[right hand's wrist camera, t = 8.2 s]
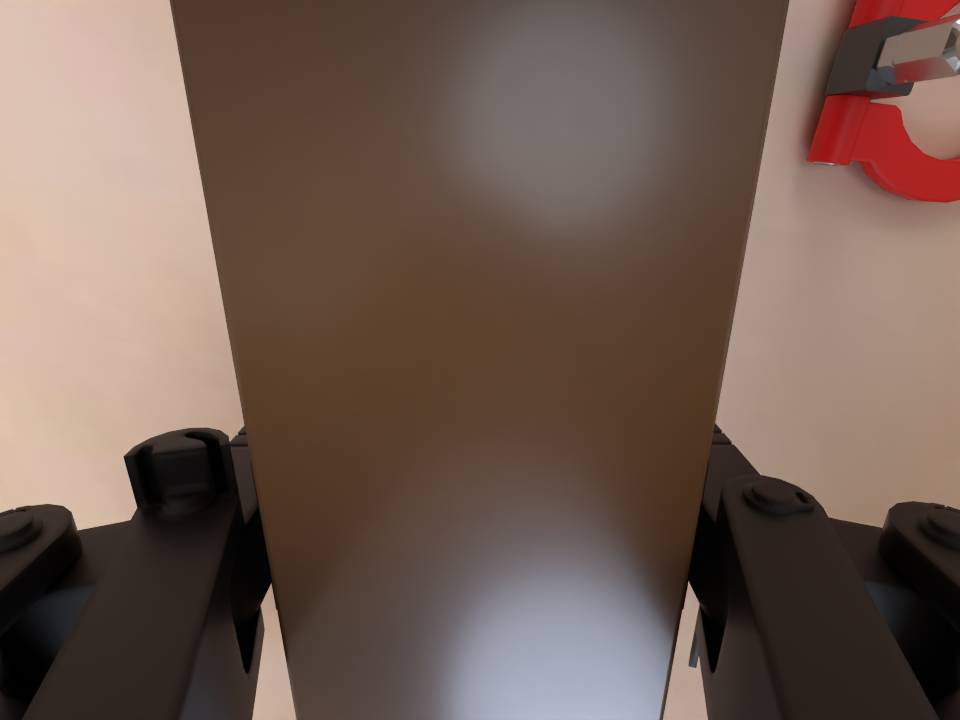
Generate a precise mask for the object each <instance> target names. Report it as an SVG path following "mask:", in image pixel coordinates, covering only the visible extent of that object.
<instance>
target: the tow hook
mask: <svg viewBox="0 0 960 720" xmlns="http://www.w3.org/2000/svg"><path fill="white" fill-rule="evenodd" d="M958 3H960V0H857V2H856V5H855V8H854V11H853V15H852V18H851V21H850V24H849V27H848V29H847V30H846V31H845V32H844V33H843V36H842V39H841V42H840V45H839V49H838V52H837V55H836V58H835V61H834V65H833V68H832V71H831V74H830V77H829V81H828V84H827V87H826V90H825V96H826V101H825V104H824V107H823V110H822V113H821V116H820V120H819V123H818V126H817V129H816V132H815V136H814V139H813V142H812V145H811V148H810V151H809V155H808V158H807V161H809V162H814V163H815V164H822V165H832V166H840V165H849V162H850V161H856V162H860V164H861V166H862V168H863V170H864V171H865V173H866V174H867V175H868V176H869V177H870V178H871V179H872V180H874V181H875V182H876V183H877V184H878V185H879V186H880V187H881V188H883V189H884V190H886V191H888V192H890V193H893V194H895V195H898V196H900V197H903V198H905V199H909V200H918V201H931V202H946V203H947V202H952V201H957V200H960V157H959V158H954V159H950V160H938V159H936V158H933V157H931V156H929V155H926V154H924V153H923V152H922V151H921V150H920V149H918V148H917V147H916V146H915V145H914V144H913V143H912V142H911V140H910V138H909V136H908V134H907V132H906V130H905V128H904V126H903V121H902V115H901V111H900V109H899V108H898V107H897V106H894V105H886V104H879V103H872V102H870V100H872V99H881V98H890V97H899V96H907V95H909V94H910V92H911V90H912V87H913V84H914V82H917V81H924V80H931V79H938V78H945V77H953V76H957V75H960V14H957V15H954V16H950V17H946V18H942V19H939V18H941V17H942V16H943V15H944V14H946V13H947V12H948V11H949V10H950V9H952V8H953V7H954V6H955V5H957V4H958Z"/></svg>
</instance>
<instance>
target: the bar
mask: <svg viewBox="0 0 960 720" xmlns="http://www.w3.org/2000/svg"><path fill="white" fill-rule="evenodd" d="M170 4H171V10H172V16H173V21H174V27H175V33H176V38H177V44H178V50H179V55H180V61H181V67H182V72H183V78H184V84H185V89H186V95H187V101H188V106H189V112H190V118H191V123H192V129H193V135H194V140H195V146H196V152H197V157H198V163H199V169H200V174H201V180H202V186H203V191H204V197H205V203H206V208H207V214H208V220H209V225H210V231H211V237H212V242H213V248H214V254H215V259H216V265H217V271H218V276H219V282H220V288H221V293H222V299H223V305H224V310H225V316H226V322H227V328H228V333H229V339H230V345H231V350H232V356H233V362H234V367H235V373H236V379H237V384H238V390H239V396H240V401H241V407H242V413H243V418H244V424H245V430H246V435H247V441H248V447H249V452H250V458H251V464H252V469H253V475H254V481H255V486H256V492H257V498H258V503H259V509H260V515H261V520H262V526H263V532H264V537H265V543H266V549H267V554H268V560H269V566H270V571H271V577H272V583H273V588H274V594H275V600H276V605H277V611H278V617H279V622H280V628H281V634H282V639H283V645H284V651H285V656H286V662H287V668H288V673H289V679H290V685H291V690H292V696H293V702H294V707H295V713H296V719H297V720H663V715H664V710H665V704H666V698H667V693H668V687H669V681H670V676H671V670H672V664H673V659H674V653H675V647H676V642H677V636H678V630H679V624H680V619H681V613H682V607H683V602H684V596H685V590H686V585H687V579H688V573H689V568H690V562H691V556H692V551H693V545H694V539H695V534H696V528H697V522H698V516H699V511H700V505H701V499H702V494H703V488H704V482H705V477H706V471H707V465H708V460H709V454H710V448H711V443H712V437H713V431H714V426H715V420H716V414H717V408H718V403H719V397H720V391H721V386H722V380H723V374H724V369H725V363H726V357H727V352H728V346H729V340H730V335H731V329H732V323H733V317H734V312H735V306H736V300H737V295H738V289H739V283H740V278H741V272H742V266H743V261H744V255H745V249H746V244H747V238H748V232H749V227H750V221H751V215H752V209H753V204H754V198H755V192H756V187H757V181H758V175H759V170H760V164H761V158H762V153H763V147H764V141H765V136H766V130H767V124H768V118H769V113H770V107H771V101H772V96H773V90H774V84H775V79H776V73H777V67H778V62H779V56H780V50H781V45H782V39H783V33H784V28H785V22H786V16H787V10H788V5H789V0H170Z"/></svg>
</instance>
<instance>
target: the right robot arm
mask: <svg viewBox="0 0 960 720" xmlns="http://www.w3.org/2000/svg"><path fill="white" fill-rule="evenodd" d="M124 460H125V464H126V467H127V471H128V475H129V478H130V482H131V486H132V489H133V493H134V497H135V500H136V504H137V510H136V512H135V513H134V515H133V517H132V519H131V520H129V521H125V522H120V523H115V524H110V525H104V526H99V527H94V528H89V529H83V530H78V531H77V528H76V525H75V522H74V518H73V515H72V512H70V511H69V510H68V509H66V508H65V507H64V506H59V505H51V504H44V505H35V506H24V507H19V508H16V510H13V509H11V510H8V511H5V512H2V513H0V720H252V716H253V709H254V702H255V695H256V688H257V680H258V673H259V666H260V659H261V652H262V644H263V637H264V622H263V616H262V610H261V603H262V601H263V599H264V597H265V595H266V593H267V591H268V589H269V587H270V585H271V583H272V577H271V571H270V566H269V560H268V554H267V549H266V543H265V537H264V532H263V526H262V520H261V515H260V509H259V503H258V498H257V492H256V486H255V481H254V475H253V469H252V464H251V458H250V452H249V447H248V441H247V435H246V430H245V426H244V427H243V428H242V429H241V430H240V431H239V432H238V435H236V436H235V437H234V438H233V439H232V441H231V442H229V437H228V436H227V435H226V434H225V433H223V432H222V431H220V430H216V429H211V428H187V429H182V430H177V431H171V432H167V433H164V434H161V435H158V436H155V437H152V438H150V439H148V440H146V441H144V442H142V443H140V444H139V445H137V446H135V447H133V448H132V449H131V450H130V451H129V452H128V453H127V454H126V455H125V456H124ZM688 581H689V583H690V585H691V587H692V589H693V591H694V593H695V595H696V597H697V599H698V601H699V603H700V605H699V610H698V616H697V621H696V626H695V631H694V637H693V642H692V647H691V652H690V659H689V666H690V667H695V668H696V666H697V661H698V656H699V658H700V665H701V672H702V679H703V686H704V693H705V701H706V708H707V715H708V720H960V510H958V509H955V508H952V507H949V506H947V507H945V506H944V505H940V504H935V503H922V502H913V501H912V502H904V503H897V504H896V505H894V506H893V507H892V508H890V509H889V511H888V514H887V517H886V520H885V523H884V526H883V528H879V527H874V526H869V525H864V524H858V523H853V522H848V521H842V520H837V519H833V518H829V517H828V516H827V514H826V512H825V511H824V509H823V507H822V506H821V505H820V504H819V502H818V501H817V500H816V499H815V498H814V497H813V496H812V495H810V494H809V493H807V492H806V491H804V490H803V489H801V488H799V487H798V486H795V485H793V484H790V483H788V482H785V481H783V480H780V479H777V478H772V477H767V476H763V475H760V474H759V473H758V472H757V471H756V469H755V468H754V467H753V466H752V465H751V464H750V463H749V461H748V460H747V459H746V458H745V457H744V456H743V455H742V453H741V452H740V451H739V450H738V449H737V448H736V447H735V445H732V444H731V441H730V440H729V439H728V437H727V436H726V435H725V434H724V433H722V431H721V429H720V428H719V427H718V426H717V425H716V424H715V426H714V431H713V437H712V443H711V448H710V454H709V460H708V465H707V471H706V477H705V482H704V488H703V494H702V499H701V505H700V511H699V516H698V522H697V528H696V534H695V539H694V545H693V551H692V556H691V562H690V568H689V573H688V579H687V585H686V590H685V596H684V602H683V607H682V610H683V608H684V603H685V597H686V591H687V586H688ZM272 588H273V583H272ZM273 594H274V588H273ZM274 599H275V594H274ZM275 605H276V600H275ZM276 610H277V605H276Z"/></svg>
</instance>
